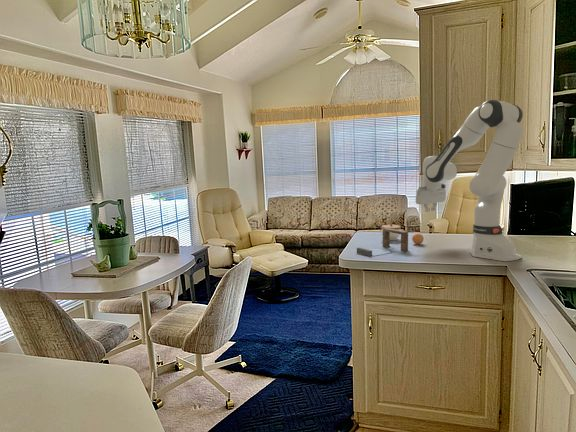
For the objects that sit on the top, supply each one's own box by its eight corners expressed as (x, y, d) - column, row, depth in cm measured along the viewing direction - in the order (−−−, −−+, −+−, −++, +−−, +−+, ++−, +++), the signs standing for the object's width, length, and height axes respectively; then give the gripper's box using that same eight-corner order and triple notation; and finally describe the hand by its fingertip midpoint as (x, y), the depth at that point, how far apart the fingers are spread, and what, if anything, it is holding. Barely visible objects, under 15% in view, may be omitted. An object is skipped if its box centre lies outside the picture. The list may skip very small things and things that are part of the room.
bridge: (386, 245, 234) (386, 227, 233) (407, 250, 221) (408, 231, 220) (382, 246, 232) (382, 228, 231) (403, 251, 220) (403, 232, 218)
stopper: (372, 255, 213) (372, 250, 212) (368, 256, 212) (368, 251, 211) (359, 252, 220) (359, 247, 220) (356, 252, 219) (356, 247, 219)
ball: (425, 244, 235) (426, 233, 234) (418, 245, 232) (418, 234, 231) (417, 242, 240) (417, 231, 239) (409, 243, 237) (409, 233, 236)
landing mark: (392, 252, 218) (392, 252, 218) (374, 256, 212) (374, 255, 211) (375, 248, 228) (375, 248, 228) (357, 251, 222) (357, 251, 222)
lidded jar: (393, 242, 242) (393, 225, 241) (377, 239, 250) (377, 223, 249) (404, 239, 249) (404, 223, 248) (388, 236, 257) (389, 221, 256)
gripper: (422, 187, 228) (421, 213, 230) (448, 185, 239) (447, 210, 241) (413, 186, 233) (412, 212, 235) (438, 184, 244) (438, 209, 246)
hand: (430, 211), depth 238 cm, fingers open, 3 cm apart
